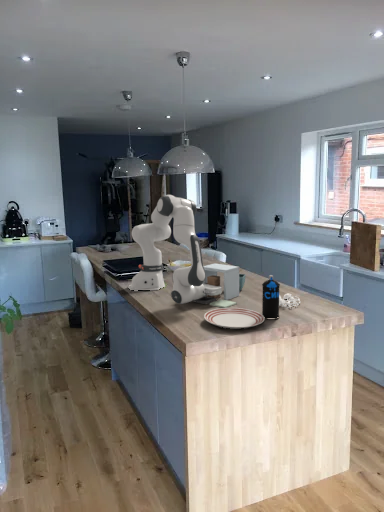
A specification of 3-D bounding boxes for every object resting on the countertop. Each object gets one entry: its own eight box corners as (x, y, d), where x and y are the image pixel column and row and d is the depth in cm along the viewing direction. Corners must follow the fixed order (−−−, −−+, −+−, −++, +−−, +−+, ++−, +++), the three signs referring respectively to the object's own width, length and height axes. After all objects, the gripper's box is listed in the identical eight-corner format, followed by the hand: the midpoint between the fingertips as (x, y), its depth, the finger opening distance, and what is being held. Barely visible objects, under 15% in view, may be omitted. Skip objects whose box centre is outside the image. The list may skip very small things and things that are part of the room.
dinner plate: (266, 315, 208) (266, 308, 207) (262, 335, 181) (262, 327, 181) (209, 312, 214) (209, 305, 213) (198, 331, 187) (198, 323, 187)
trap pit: (205, 304, 227) (205, 302, 227) (192, 301, 233) (192, 299, 233) (216, 300, 233) (216, 298, 233) (203, 297, 239) (203, 295, 239)
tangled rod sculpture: (303, 312, 215) (304, 304, 214) (274, 309, 216) (275, 301, 215) (297, 300, 234) (297, 293, 233) (270, 298, 235) (271, 290, 234)
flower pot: (245, 288, 257) (245, 274, 256) (242, 292, 249) (242, 277, 248) (231, 287, 260) (231, 273, 259) (227, 291, 252) (227, 276, 250)
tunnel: (226, 300, 233) (226, 270, 231) (202, 295, 245) (201, 266, 242) (239, 295, 242) (239, 266, 239) (215, 291, 253) (215, 263, 250)
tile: (225, 308, 219) (225, 306, 219) (209, 304, 226) (209, 303, 225) (236, 303, 226) (236, 302, 226) (221, 300, 233) (221, 299, 233)
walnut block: (214, 299, 236) (214, 278, 233) (207, 298, 239) (207, 276, 237) (220, 297, 239) (220, 276, 237) (213, 296, 242) (213, 275, 240)
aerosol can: (259, 314, 208) (260, 274, 204) (276, 314, 208) (277, 273, 205) (264, 320, 200) (264, 277, 196) (281, 319, 200) (282, 277, 197)
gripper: (212, 287, 220) (228, 282, 230) (182, 282, 234) (199, 277, 244) (212, 299, 221) (228, 294, 231) (182, 293, 235) (199, 288, 245)
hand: (213, 285), depth 238 cm, fingers open, 8 cm apart
